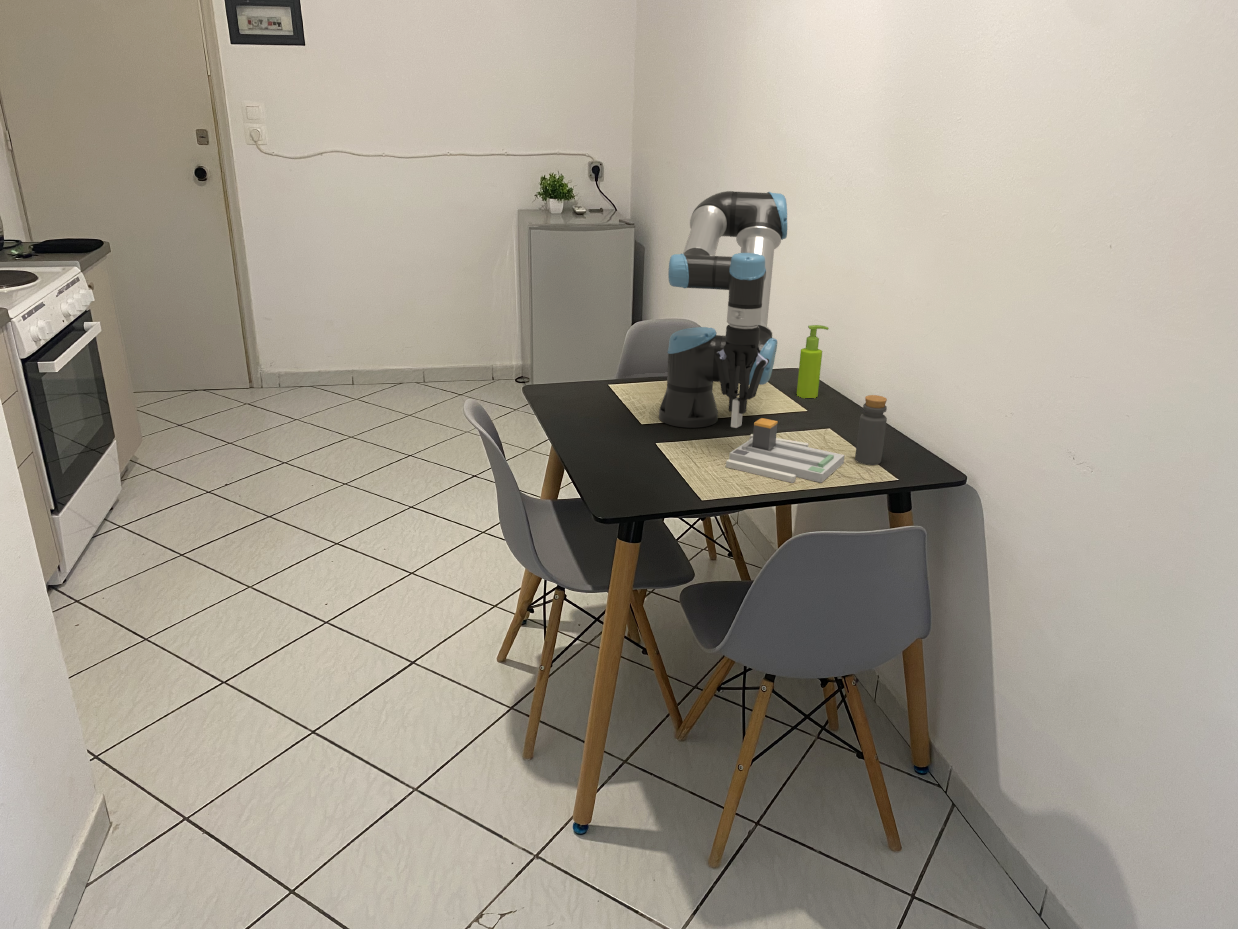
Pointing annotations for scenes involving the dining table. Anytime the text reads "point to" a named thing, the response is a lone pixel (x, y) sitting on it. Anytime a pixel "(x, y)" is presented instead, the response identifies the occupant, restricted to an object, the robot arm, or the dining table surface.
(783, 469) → the panel
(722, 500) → the dining table surface
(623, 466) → the dining table surface
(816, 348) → the soap dispenser
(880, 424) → the bottle
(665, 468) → the dining table surface
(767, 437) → the knob
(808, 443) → the light grey thin bar
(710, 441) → the dining table surface
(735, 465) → the light grey long bar
